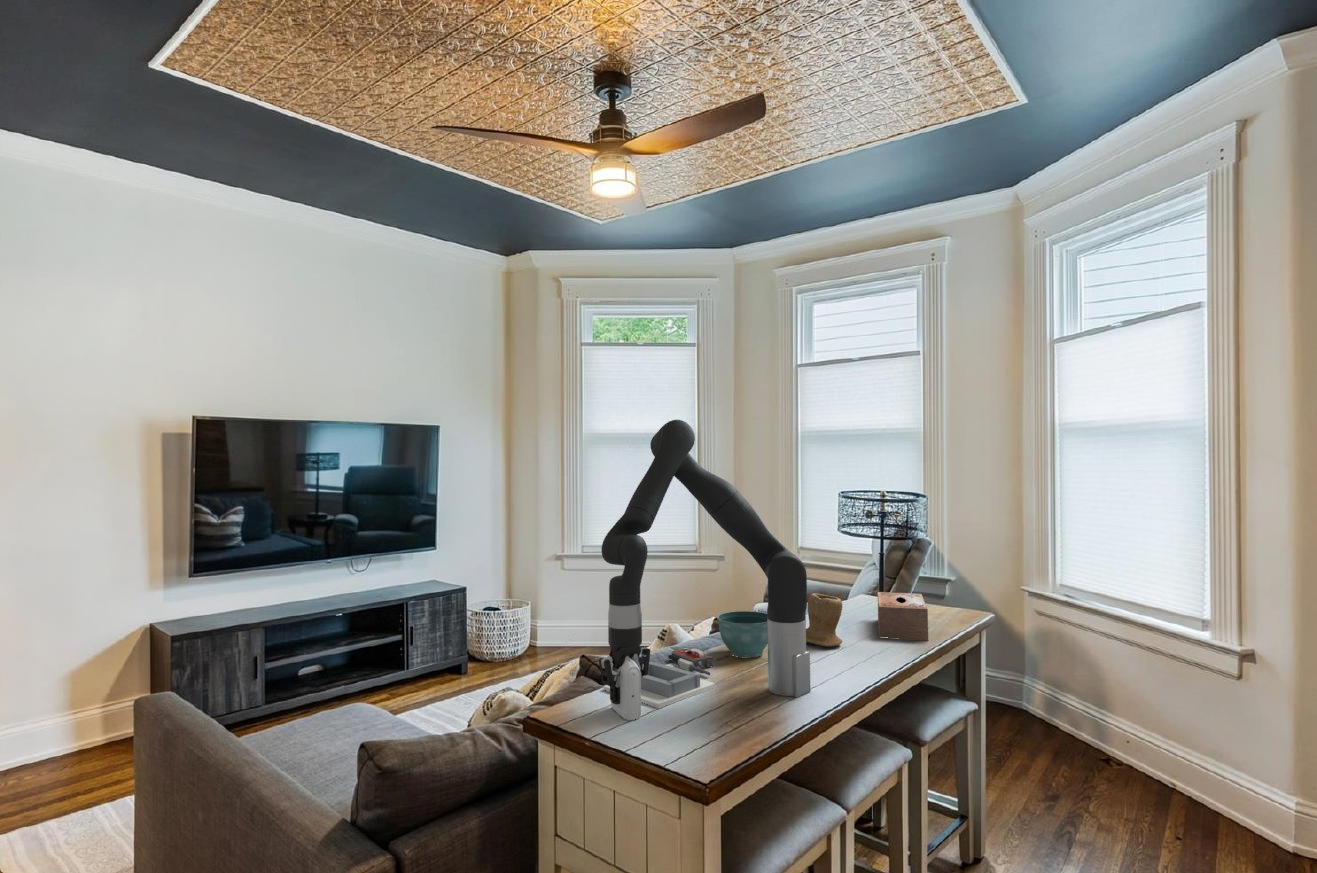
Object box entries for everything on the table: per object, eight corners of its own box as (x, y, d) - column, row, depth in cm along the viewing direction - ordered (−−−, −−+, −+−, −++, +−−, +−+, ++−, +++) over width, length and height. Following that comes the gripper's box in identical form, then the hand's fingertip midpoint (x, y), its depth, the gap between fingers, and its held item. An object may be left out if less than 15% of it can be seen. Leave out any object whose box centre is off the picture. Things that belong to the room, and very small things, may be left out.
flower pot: (748, 666, 190) (747, 625, 191) (706, 654, 202) (705, 616, 203) (785, 654, 201) (785, 616, 201) (743, 644, 213) (743, 608, 213)
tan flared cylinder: (851, 644, 211) (850, 594, 212) (827, 651, 203) (826, 600, 204) (811, 635, 223) (810, 588, 223) (787, 641, 215) (786, 593, 216)
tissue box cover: (928, 641, 215) (927, 609, 215) (879, 638, 219) (878, 606, 219) (922, 623, 239) (921, 593, 240) (878, 620, 243) (877, 592, 244)
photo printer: (643, 718, 151) (643, 661, 152) (625, 722, 150) (624, 663, 150) (626, 704, 161) (625, 650, 161) (608, 707, 159) (608, 652, 159)
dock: (715, 687, 172) (715, 671, 172) (658, 708, 158) (658, 690, 158) (660, 672, 185) (659, 656, 185) (603, 690, 171) (603, 673, 171)
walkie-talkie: (661, 662, 195) (706, 680, 179) (661, 646, 196) (706, 662, 179) (686, 657, 200) (732, 674, 184) (686, 641, 201) (732, 657, 184)
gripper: (612, 631, 148) (612, 712, 147) (659, 620, 158) (660, 695, 158) (589, 626, 153) (590, 704, 153) (636, 615, 164) (637, 688, 163)
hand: (625, 699), depth 155 cm, fingers closed on photo printer, 5 cm apart
